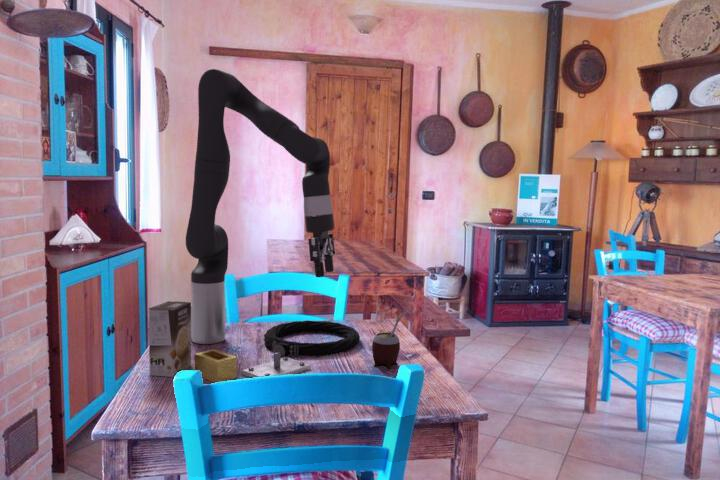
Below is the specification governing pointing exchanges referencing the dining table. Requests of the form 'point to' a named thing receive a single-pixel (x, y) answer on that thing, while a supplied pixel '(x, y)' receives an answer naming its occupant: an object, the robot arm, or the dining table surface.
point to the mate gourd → (386, 348)
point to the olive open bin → (216, 365)
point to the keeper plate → (272, 371)
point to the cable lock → (311, 348)
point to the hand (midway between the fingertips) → (325, 274)
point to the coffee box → (169, 338)
